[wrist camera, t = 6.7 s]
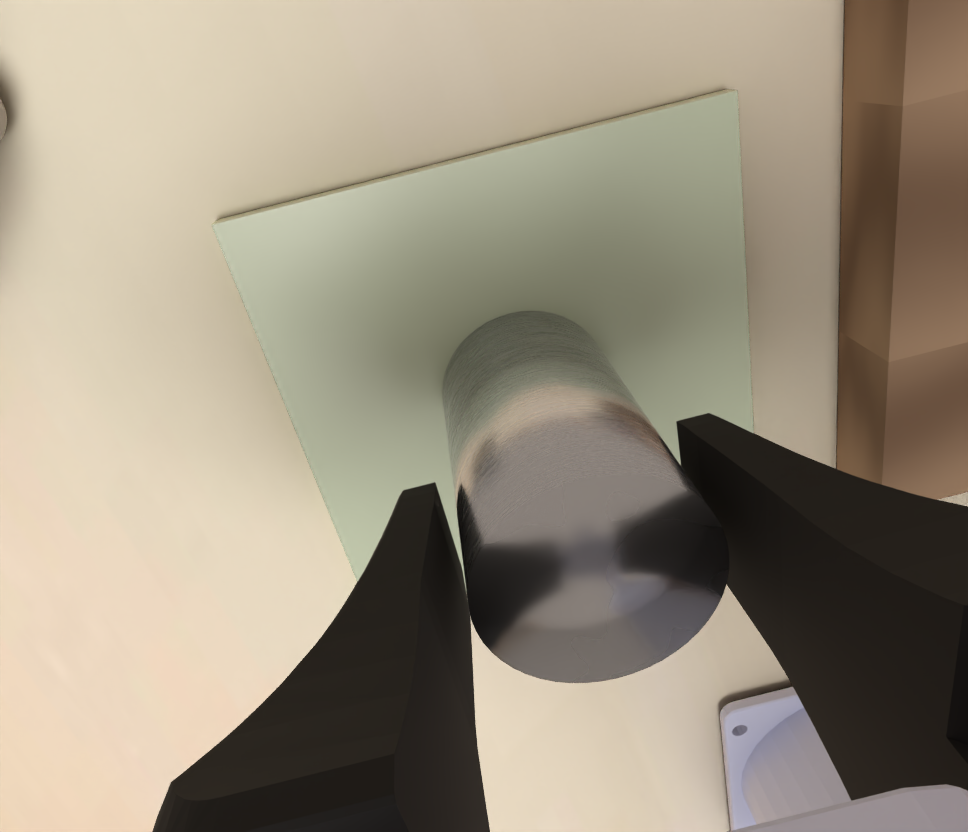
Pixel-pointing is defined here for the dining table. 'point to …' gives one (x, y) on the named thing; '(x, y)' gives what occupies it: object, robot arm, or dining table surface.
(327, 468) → the sage pad
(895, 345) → the walnut holder
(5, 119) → the elephant statuette
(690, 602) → the metal peg
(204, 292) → the dining table surface
